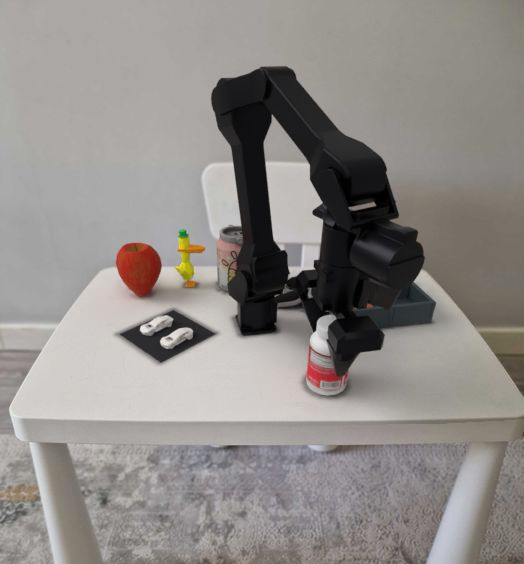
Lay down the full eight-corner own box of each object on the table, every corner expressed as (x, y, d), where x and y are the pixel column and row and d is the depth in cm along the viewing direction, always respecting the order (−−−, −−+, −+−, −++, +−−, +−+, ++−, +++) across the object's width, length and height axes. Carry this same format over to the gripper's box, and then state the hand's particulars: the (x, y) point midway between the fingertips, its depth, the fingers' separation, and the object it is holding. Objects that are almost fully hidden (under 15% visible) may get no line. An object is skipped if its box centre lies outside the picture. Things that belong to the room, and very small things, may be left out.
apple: (167, 284, 96) (161, 235, 90) (161, 304, 89) (154, 252, 83) (126, 284, 96) (118, 235, 90) (117, 304, 89) (107, 252, 83)
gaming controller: (281, 319, 89) (308, 303, 85) (267, 302, 89) (293, 284, 84) (299, 295, 98) (323, 279, 93) (286, 279, 97) (310, 262, 92)
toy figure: (208, 281, 98) (205, 227, 91) (206, 289, 95) (203, 234, 88) (176, 281, 98) (171, 226, 91) (174, 288, 95) (168, 233, 88)
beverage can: (255, 274, 101) (256, 221, 94) (265, 292, 94) (267, 236, 87) (214, 279, 99) (211, 225, 92) (222, 297, 92) (220, 240, 85)
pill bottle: (325, 366, 74) (333, 307, 67) (354, 386, 70) (365, 325, 63) (297, 381, 70) (302, 321, 64) (326, 402, 66) (334, 340, 60)
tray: (344, 332, 82) (347, 311, 80) (314, 288, 96) (316, 269, 94) (431, 322, 86) (436, 302, 83) (389, 281, 99) (393, 263, 97)
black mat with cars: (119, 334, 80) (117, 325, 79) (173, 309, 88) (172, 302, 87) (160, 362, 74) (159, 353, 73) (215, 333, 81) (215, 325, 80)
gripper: (436, 286, 52) (408, 389, 61) (370, 229, 67) (355, 319, 76) (346, 295, 50) (331, 401, 59) (297, 233, 65) (291, 326, 74)
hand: (329, 356), depth 67 cm, fingers open, 9 cm apart
